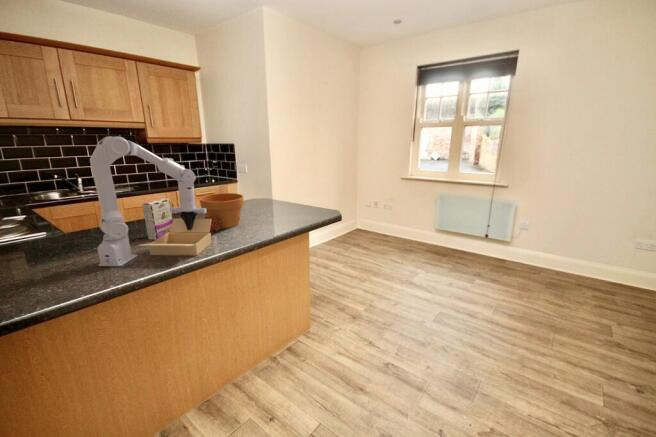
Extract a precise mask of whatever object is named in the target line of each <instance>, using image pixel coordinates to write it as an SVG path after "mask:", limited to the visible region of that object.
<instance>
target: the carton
mask: <svg viewBox="0 0 656 437" xmlns="http://www.w3.org/2000/svg"><path fill="white" fill-rule="evenodd" d="M149 244H194V246H148V248H149V254H150V256H187V257H188V256H189V257H190V256H193V257H194V256H195V257H196V256H199V255H200V254H201V253H202V252H203V251H204V250H205V249H207V248H208V246H210V245H211V244H212V235H211V232H209V233H199V232H175V233H171V232H168V233H167V234H165V235H163V236H162V237H160V238H158V239H156V240H152V242H150V243H149Z"/></svg>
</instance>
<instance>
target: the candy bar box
mask: <svg viewBox="0 0 656 437" xmlns="http://www.w3.org/2000/svg"><path fill="white" fill-rule="evenodd" d="M141 206H142V211H143V218H144V221H145V227H146V233H147V237H148V238H147V239H148V240H151V241H155V240H156V239H158V238H160V237H162V236H163V235H165V234H167V233H168V232H170V231H171V227H172V223H173V219H174V218H173V214H172V213H170V208H172V206H171V200H170V198H159V199H155V200H152V201H148V202H145V203H142V204H141ZM171 233H176V232H171Z"/></svg>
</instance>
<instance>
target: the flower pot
mask: <svg viewBox="0 0 656 437" xmlns="http://www.w3.org/2000/svg"><path fill="white" fill-rule="evenodd" d="M199 204H200V208H206V212H207V213H205V217H208V218H209V217H211V216H213V217H214V218H215V217H218V218H219V219H221V220H222V226H221V228H220V229H228V228H234V227H236V226H238V225H239V224H240V218H241V213H242V207H243V206H244V195H243V194H241V193H236V192H234V193H233V192H232V193H230V192H221V193H212V194H207V195H203V196H201V197H199Z"/></svg>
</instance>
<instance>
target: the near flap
mask: <svg viewBox="0 0 656 437" xmlns="http://www.w3.org/2000/svg"><path fill="white" fill-rule="evenodd" d="M139 246H140V247H143V246H144V247H149V246H194V244H150V243H145V244H142V243H141V244H139Z"/></svg>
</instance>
